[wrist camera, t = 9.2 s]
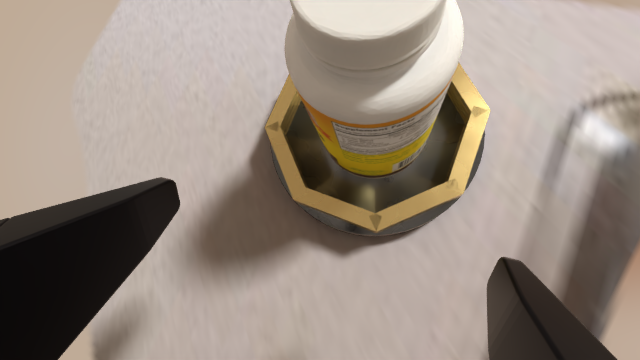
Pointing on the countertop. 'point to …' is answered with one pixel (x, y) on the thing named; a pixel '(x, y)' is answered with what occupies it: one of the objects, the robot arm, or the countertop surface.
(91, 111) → the countertop surface
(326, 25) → the supplement bottle
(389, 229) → the black and gold tray
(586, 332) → the robot arm
